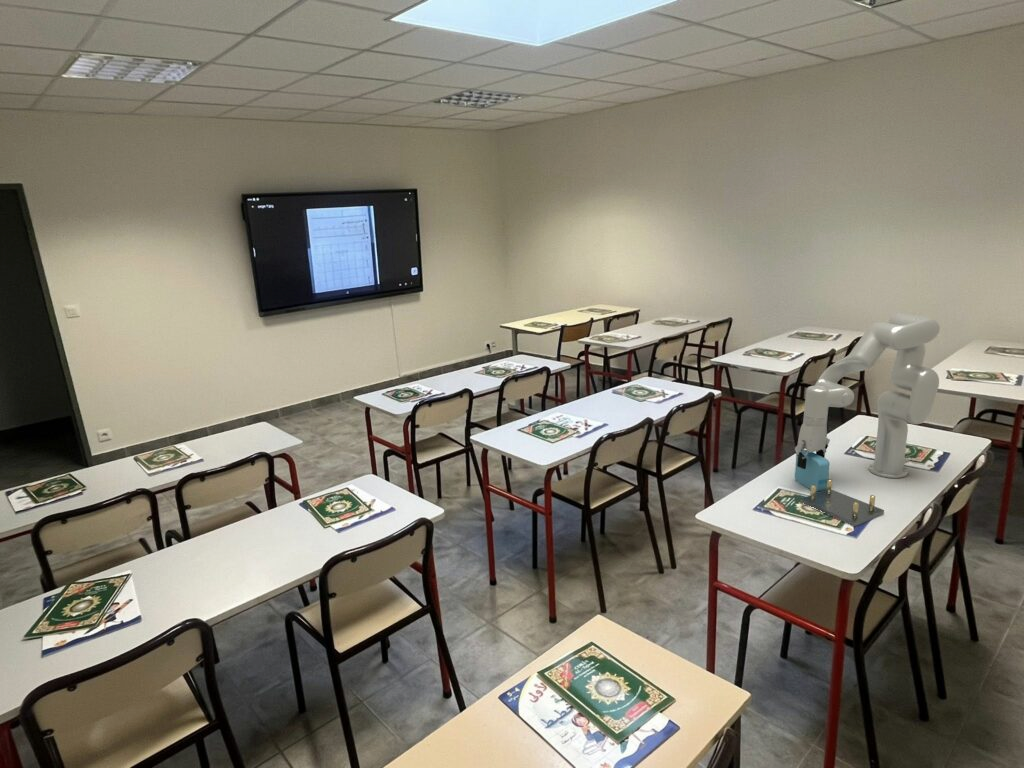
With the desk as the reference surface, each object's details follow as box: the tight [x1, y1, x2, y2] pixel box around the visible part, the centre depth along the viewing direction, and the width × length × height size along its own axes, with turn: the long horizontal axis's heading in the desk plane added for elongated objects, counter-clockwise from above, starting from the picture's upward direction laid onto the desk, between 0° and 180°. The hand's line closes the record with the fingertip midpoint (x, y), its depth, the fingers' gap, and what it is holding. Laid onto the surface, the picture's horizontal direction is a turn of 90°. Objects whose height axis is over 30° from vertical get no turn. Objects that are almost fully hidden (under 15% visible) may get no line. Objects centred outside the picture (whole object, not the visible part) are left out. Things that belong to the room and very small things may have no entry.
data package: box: [794, 452, 830, 493], centre depth 223 cm, size 12×4×12 cm, turn 14°
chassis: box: [799, 478, 885, 527], centre depth 206 cm, size 15×20×6 cm
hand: (810, 465), depth 222 cm, fingers open, 9 cm apart
